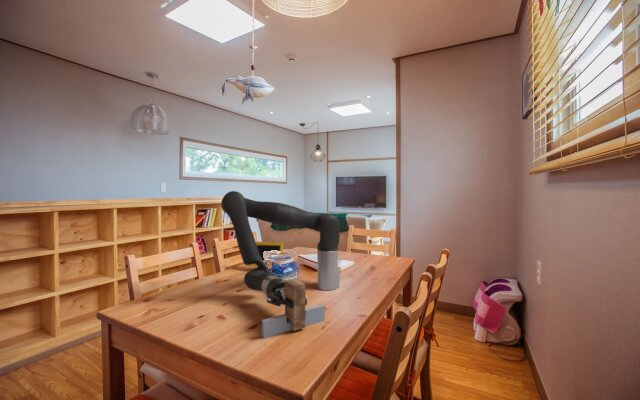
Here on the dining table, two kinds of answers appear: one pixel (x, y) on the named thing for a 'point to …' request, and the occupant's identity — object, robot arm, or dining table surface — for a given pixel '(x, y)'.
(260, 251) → the alarm clock
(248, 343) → the dining table surface
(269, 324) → the slate rail
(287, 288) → the walnut block
